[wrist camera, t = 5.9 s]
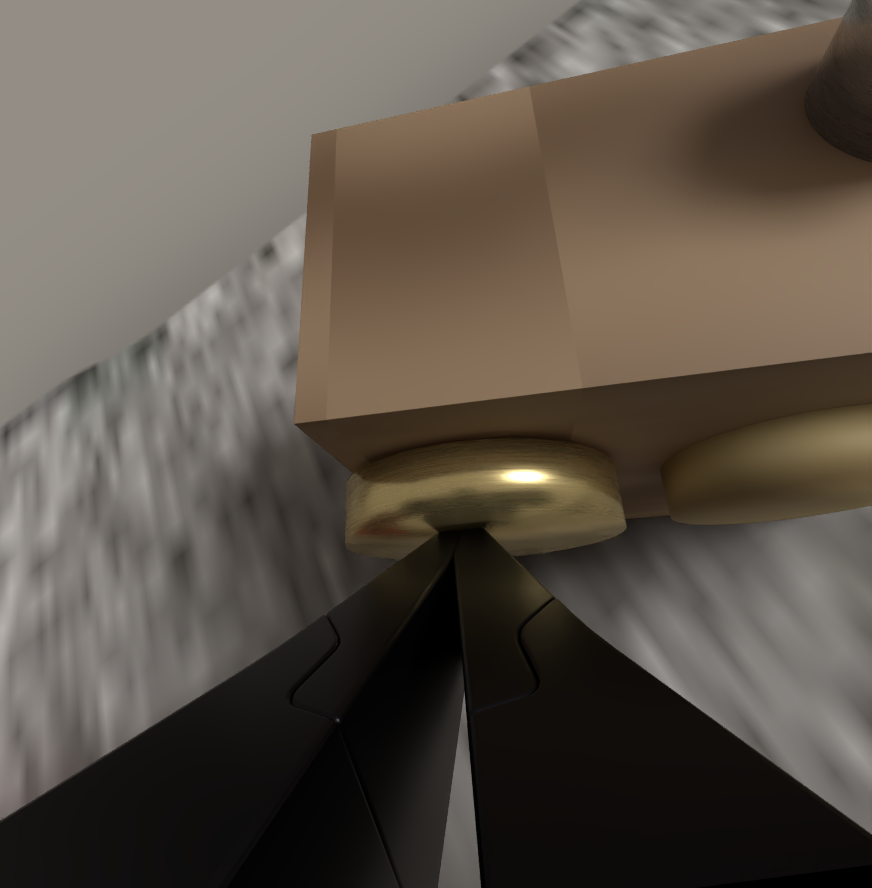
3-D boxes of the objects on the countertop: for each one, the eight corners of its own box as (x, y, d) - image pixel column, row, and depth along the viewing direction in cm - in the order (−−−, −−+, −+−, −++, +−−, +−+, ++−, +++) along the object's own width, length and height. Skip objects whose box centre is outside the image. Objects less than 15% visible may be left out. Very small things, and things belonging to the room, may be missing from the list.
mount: (840, 536, 14) (1449, 373, 5) (429, 565, 16) (289, 490, 7) (769, 332, 16) (1077, -35, 7) (421, 378, 18) (311, 135, 9)
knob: (603, 549, 12) (660, 497, 7) (388, 565, 13) (294, 529, 8) (562, 305, 15) (579, 134, 9) (385, 332, 15) (313, 188, 10)
